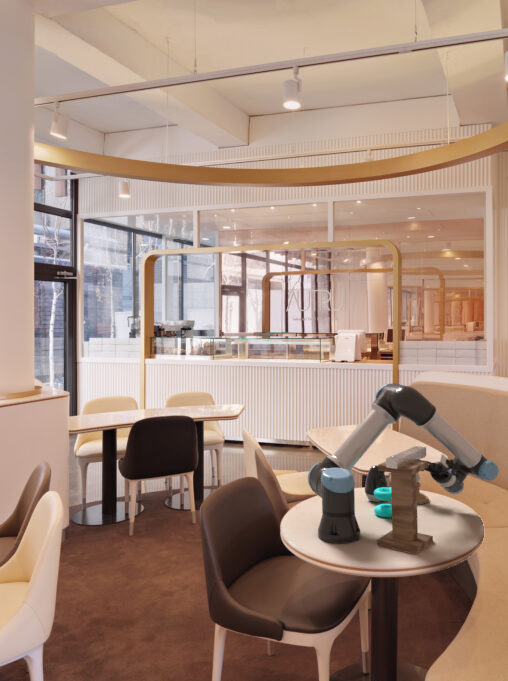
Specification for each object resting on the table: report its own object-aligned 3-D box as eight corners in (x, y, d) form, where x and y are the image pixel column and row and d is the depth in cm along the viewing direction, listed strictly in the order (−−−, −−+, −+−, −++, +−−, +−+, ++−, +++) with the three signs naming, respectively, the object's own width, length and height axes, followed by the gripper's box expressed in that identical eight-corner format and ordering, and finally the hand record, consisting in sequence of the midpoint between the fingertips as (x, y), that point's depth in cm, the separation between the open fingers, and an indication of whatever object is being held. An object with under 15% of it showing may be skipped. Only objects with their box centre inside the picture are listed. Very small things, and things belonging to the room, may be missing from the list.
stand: (416, 554, 188) (414, 469, 188) (377, 545, 197) (375, 464, 197) (432, 541, 199) (431, 461, 199) (395, 533, 208) (393, 456, 208)
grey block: (397, 468, 189) (397, 459, 189) (386, 467, 192) (385, 458, 192) (426, 455, 208) (426, 447, 208) (415, 454, 211) (415, 446, 210)
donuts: (369, 487, 233) (392, 485, 235) (370, 512, 233) (392, 509, 235) (380, 494, 223) (403, 491, 226) (381, 519, 223) (404, 517, 226)
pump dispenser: (379, 505, 241) (378, 469, 241) (360, 500, 249) (359, 465, 249) (394, 500, 248) (393, 465, 248) (374, 495, 256) (373, 461, 256)
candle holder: (408, 506, 240) (407, 458, 239) (394, 497, 252) (393, 452, 251) (434, 503, 243) (433, 455, 242) (419, 495, 255) (418, 450, 254)
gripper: (473, 488, 215) (456, 470, 200) (410, 479, 230) (389, 461, 216) (476, 469, 217) (459, 449, 203) (414, 461, 233) (393, 442, 219)
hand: (423, 455), depth 209 cm, fingers open, 13 cm apart
